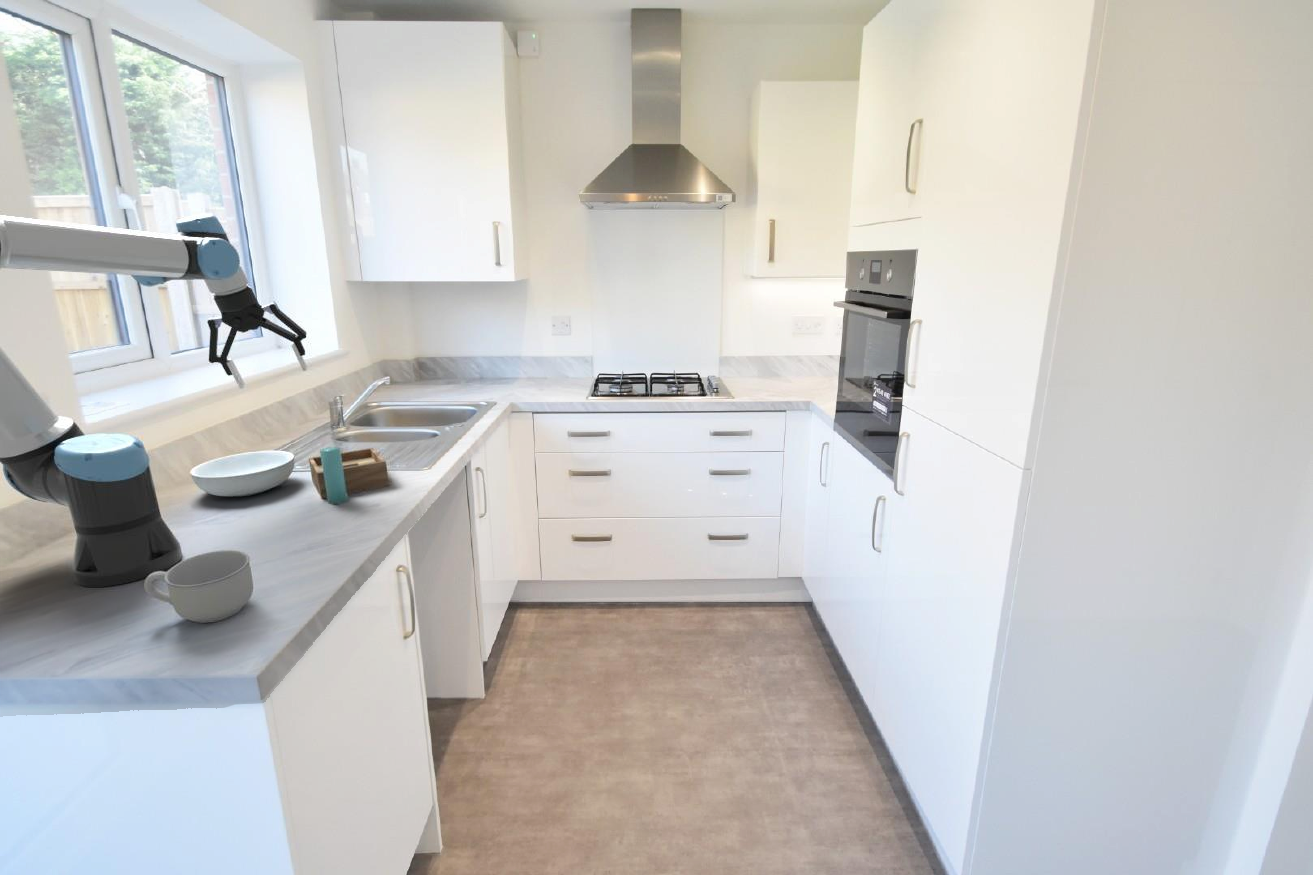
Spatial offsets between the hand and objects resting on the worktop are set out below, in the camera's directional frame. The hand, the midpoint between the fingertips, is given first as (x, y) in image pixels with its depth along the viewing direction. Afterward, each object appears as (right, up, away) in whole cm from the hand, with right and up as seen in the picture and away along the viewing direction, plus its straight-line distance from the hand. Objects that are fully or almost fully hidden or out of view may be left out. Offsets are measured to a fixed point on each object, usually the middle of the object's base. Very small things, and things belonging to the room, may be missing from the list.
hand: (274, 377), depth 152 cm
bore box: (+15, -25, +6) cm, 30 cm away
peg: (+17, -28, -5) cm, 34 cm away
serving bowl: (-8, -27, +3) cm, 28 cm away
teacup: (+20, -41, -52) cm, 69 cm away
